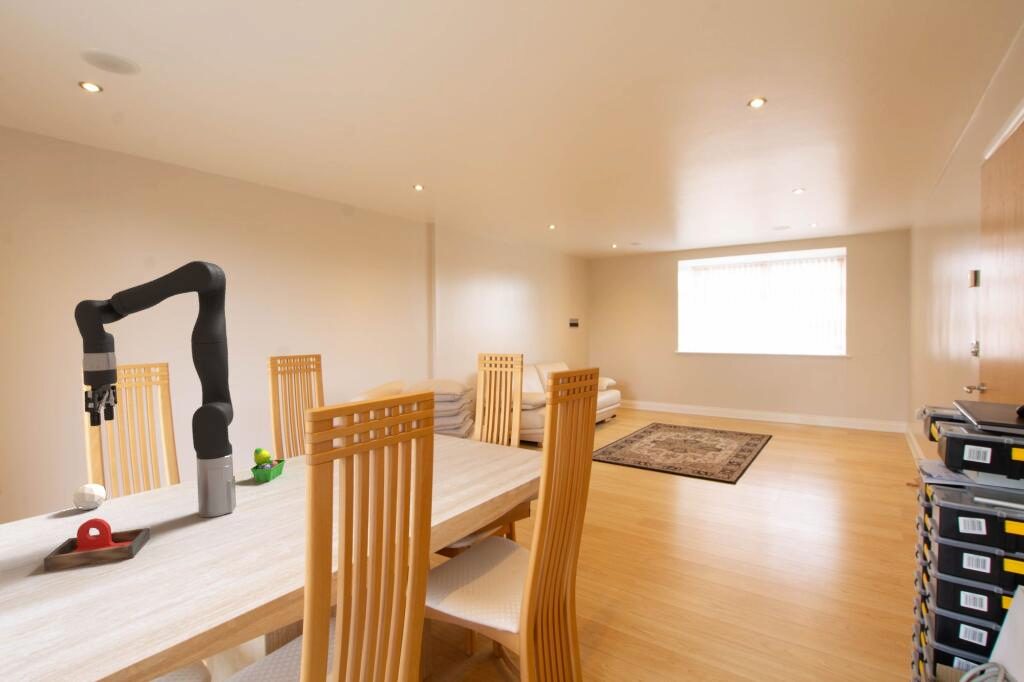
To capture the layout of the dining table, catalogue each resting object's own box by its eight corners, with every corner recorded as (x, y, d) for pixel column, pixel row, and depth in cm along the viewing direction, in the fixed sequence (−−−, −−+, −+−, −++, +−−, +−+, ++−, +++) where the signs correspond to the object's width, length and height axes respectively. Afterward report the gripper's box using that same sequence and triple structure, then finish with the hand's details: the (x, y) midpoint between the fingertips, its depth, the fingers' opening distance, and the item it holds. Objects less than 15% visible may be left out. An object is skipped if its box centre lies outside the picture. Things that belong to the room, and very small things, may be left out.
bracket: (68, 559, 115) (66, 527, 115) (81, 550, 120) (79, 519, 119) (124, 554, 117) (123, 522, 117) (135, 545, 122) (133, 515, 122)
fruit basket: (271, 482, 171) (270, 451, 170) (246, 483, 171) (245, 451, 170) (286, 472, 182) (285, 443, 182) (263, 473, 182) (262, 443, 182)
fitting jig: (149, 538, 127) (149, 527, 127) (133, 557, 117) (132, 545, 116) (69, 550, 121) (69, 538, 121) (44, 571, 111) (43, 558, 111)
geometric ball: (93, 514, 151) (105, 489, 155) (102, 510, 147) (114, 484, 151) (63, 509, 146) (77, 483, 150) (72, 504, 142) (86, 478, 146)
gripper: (104, 369, 135) (107, 426, 136) (125, 365, 148) (128, 417, 149) (71, 371, 132) (74, 429, 133) (95, 366, 146) (98, 419, 146)
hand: (102, 423), depth 141 cm, fingers open, 8 cm apart
